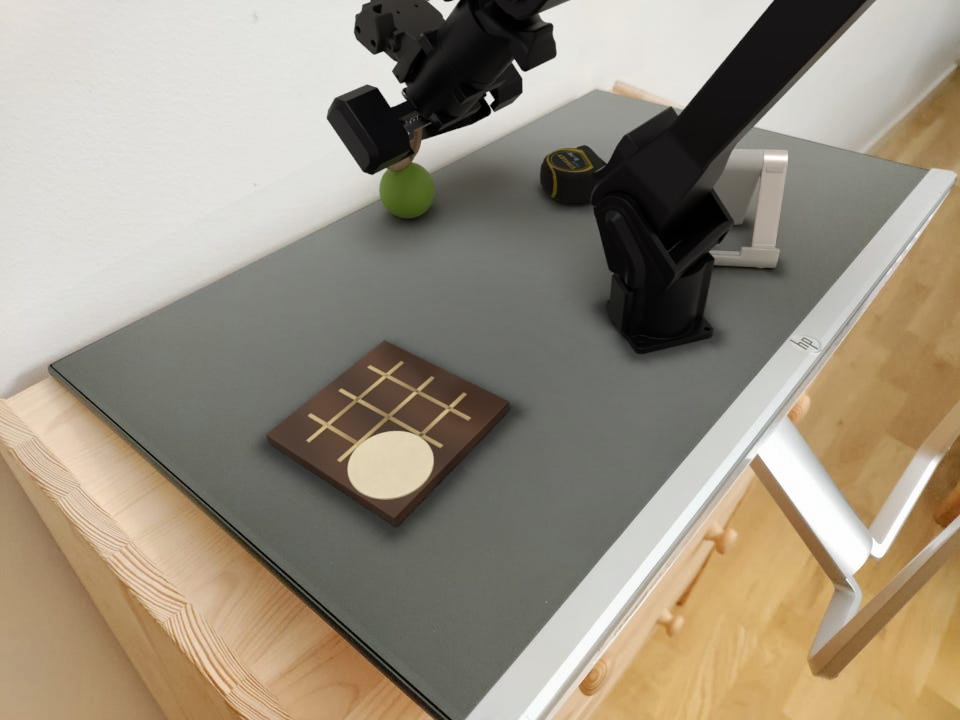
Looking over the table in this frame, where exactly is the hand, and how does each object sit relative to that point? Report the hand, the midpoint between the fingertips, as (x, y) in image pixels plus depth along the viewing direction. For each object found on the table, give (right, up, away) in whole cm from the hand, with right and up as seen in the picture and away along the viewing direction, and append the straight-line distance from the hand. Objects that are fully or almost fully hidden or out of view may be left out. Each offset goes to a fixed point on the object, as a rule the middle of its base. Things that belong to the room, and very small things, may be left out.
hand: (395, 147), depth 68 cm
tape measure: (+18, -3, +5) cm, 19 cm away
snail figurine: (+1, -6, +4) cm, 7 cm away
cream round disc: (+2, -28, -21) cm, 35 cm away
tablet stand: (+30, -10, -4) cm, 32 cm away
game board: (+2, -25, -18) cm, 31 cm away
